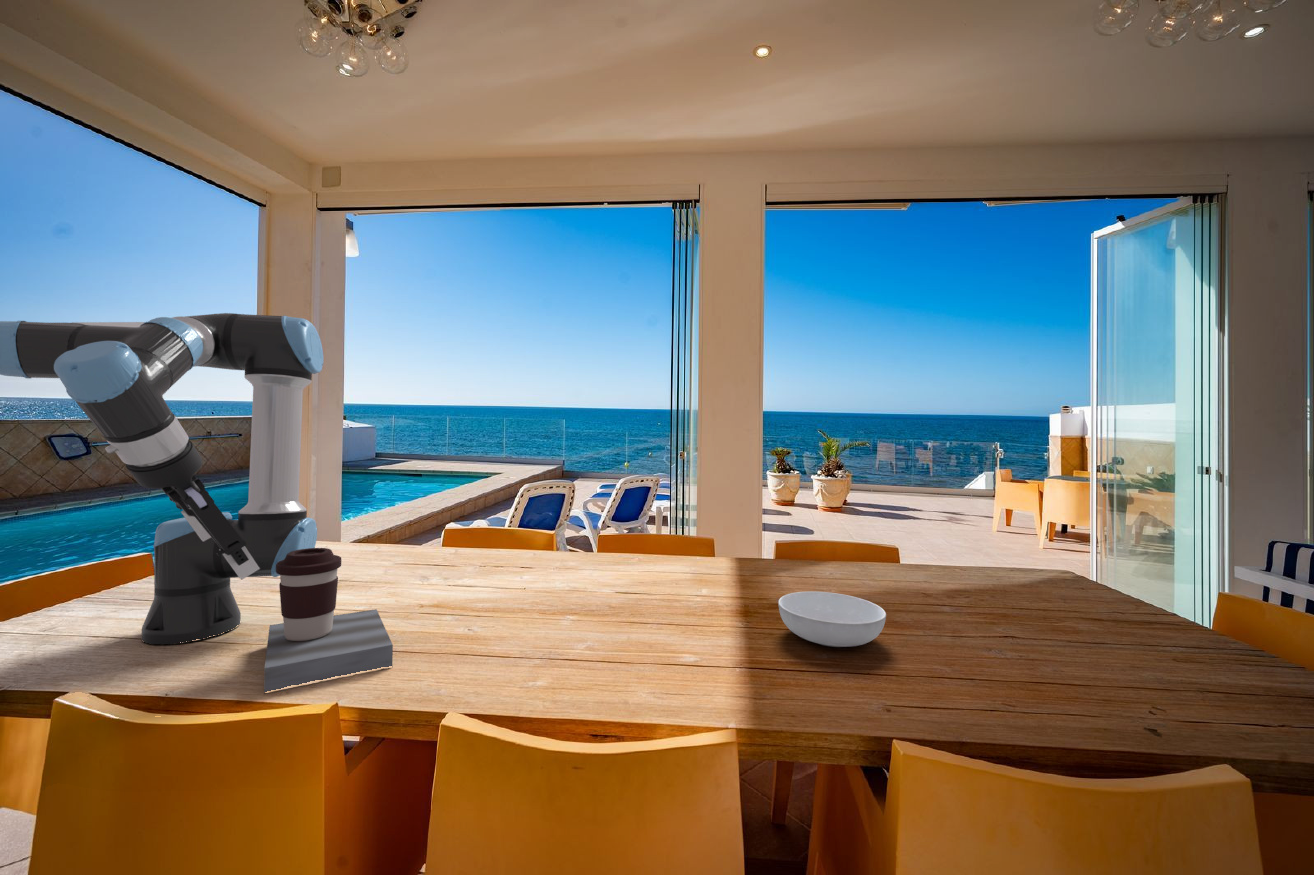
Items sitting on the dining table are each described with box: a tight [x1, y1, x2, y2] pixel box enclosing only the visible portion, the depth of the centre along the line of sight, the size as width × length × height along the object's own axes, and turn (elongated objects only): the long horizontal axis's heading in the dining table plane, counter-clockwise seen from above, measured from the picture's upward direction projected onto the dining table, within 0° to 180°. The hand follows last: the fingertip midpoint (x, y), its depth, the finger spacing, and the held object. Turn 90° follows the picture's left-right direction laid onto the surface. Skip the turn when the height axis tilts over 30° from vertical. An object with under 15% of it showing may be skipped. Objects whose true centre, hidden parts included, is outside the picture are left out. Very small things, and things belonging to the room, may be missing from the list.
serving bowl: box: [777, 590, 887, 648], centre depth 111 cm, size 21×21×7 cm
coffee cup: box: [276, 547, 342, 641], centre depth 98 cm, size 10×10×15 cm
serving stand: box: [263, 608, 394, 693], centre depth 98 cm, size 22×18×4 cm
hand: (229, 554), depth 88 cm, fingers open, 13 cm apart
